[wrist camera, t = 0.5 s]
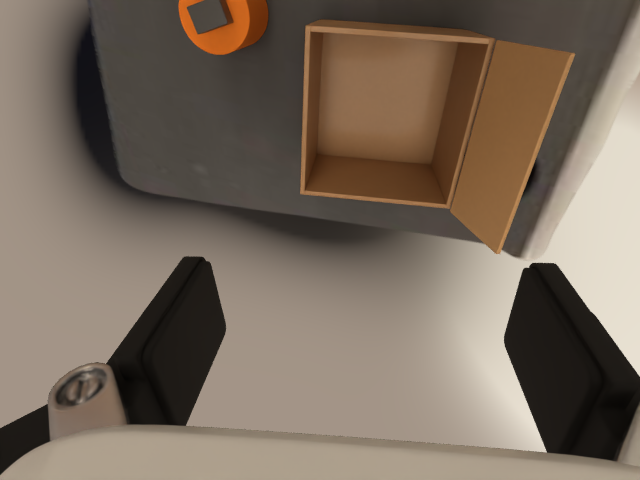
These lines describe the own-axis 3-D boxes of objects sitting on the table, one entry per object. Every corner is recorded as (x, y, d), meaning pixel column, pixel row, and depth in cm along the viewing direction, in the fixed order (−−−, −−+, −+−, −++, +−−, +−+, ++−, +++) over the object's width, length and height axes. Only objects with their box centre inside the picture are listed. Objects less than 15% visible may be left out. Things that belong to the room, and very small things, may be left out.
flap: (570, 53, 21) (575, 53, 21) (496, 40, 27) (500, 40, 27) (496, 254, 29) (500, 253, 29) (449, 211, 34) (453, 211, 34)
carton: (320, 19, 37) (305, 25, 28) (464, 29, 36) (495, 38, 27) (313, 155, 44) (300, 194, 36) (433, 166, 43) (449, 208, 35)
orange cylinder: (198, -13, 37) (156, -16, 29) (254, -35, 35) (225, -44, 28) (223, 54, 40) (191, 66, 32) (277, 35, 38) (255, 44, 31)
